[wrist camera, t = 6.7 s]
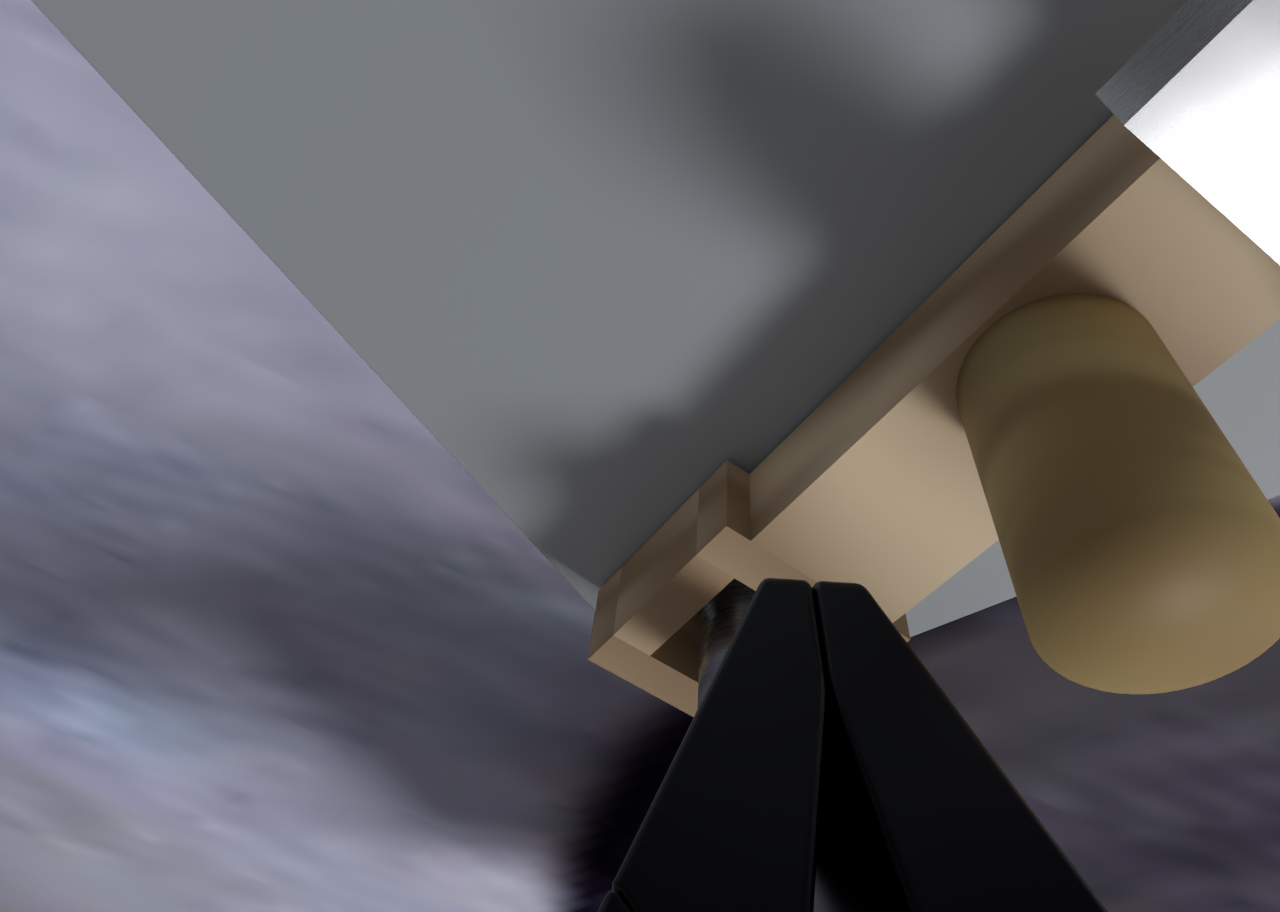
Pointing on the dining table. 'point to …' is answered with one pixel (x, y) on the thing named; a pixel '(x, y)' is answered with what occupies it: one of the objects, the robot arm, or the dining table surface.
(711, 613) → the peg
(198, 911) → the dining table surface
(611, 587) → the latch bar
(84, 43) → the board
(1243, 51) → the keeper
